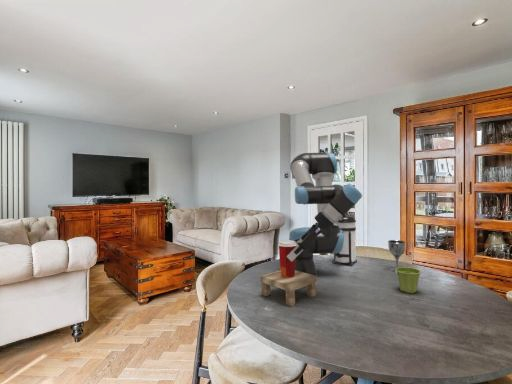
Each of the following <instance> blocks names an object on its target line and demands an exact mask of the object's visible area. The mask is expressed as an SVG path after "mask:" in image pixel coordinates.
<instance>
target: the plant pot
mask: <svg viewBox="0 0 512 384" xmlns="http://www.w3.org/2000/svg"><path fill="white" fill-rule="evenodd" d="M395 268H396V267H395ZM396 271H397V272H396V274H397V279H398V284H399V285H398V286H399V290H400V291H401V292H404V293H407V294H415V293H417V292H418V291H417V290H418V283H419V278H420V275H421V274H422V271H421V270H420V269H418V268H414V267H408V266H400V267H399V266H398V268H396Z"/></svg>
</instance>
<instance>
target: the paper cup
mask: <svg viewBox="0 0 512 384" xmlns="http://www.w3.org/2000/svg"><path fill="white" fill-rule="evenodd" d="M296 245H297V244H296V242H295V241H292V240H289V239H285V240H279V241H278V244H277V246H278V251H279V255H278V256H279V265H280V266H279V268H280V269H279V270H281V276H282V277H284V278H292V277H294V276H295V260H296V258H295V259H294V260H293V261H290V260H289V259H288V258H287V255H288V254H289V253H290V252H291V251H292V250H293V249H294V248H295V247H296Z"/></svg>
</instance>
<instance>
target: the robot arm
mask: <svg viewBox="0 0 512 384" xmlns="http://www.w3.org/2000/svg"><path fill="white" fill-rule="evenodd" d="M289 166H290V167H289V170H290V173H291V175H292V176H293V177H294V180H295V181H294V182H295V184H296V186H295V188H294V202H295V204H298V205H316V207H317V209H316V210H317V214H316V215H315V216H314V220H315V221H316V222H315V223H313V224H312V225H311V226H308V227H307V226H305V227H297V228H294V229H291V230H290V232H289V236H288V237H289V239H288V240H292V241H295V242H296V244H297V245H296V247H295V248H294V249H293V250H292V251H291V252H290V253H289V254H288V255H287V258H288V259H289V260H290V261H293V260H294V259H295V258H296V260H295V270H296V271H300V272H304V273H307V274H311V275H315V276H316V277H317V275H318V274H317V273H318V272H317V271H318V270H317V268H316V265H315V262H314V255H315V254H317V255H318V254H319V255H321V254H322V255H323V254H328V255H329V254H331V255H332V254H333V255H334V253H340V252H341V250H342V248H343V244H344V234H343V231H342V230H339V226H338V225H337V224H336V223H337V222H338V221H339V220H342V218H341V217H343V216H344V215H346V214H347V213H348V212H349V211H350V210H351V209H352V208H353V207H354V206H356V204H357V203H358V202H359V201H360V200H361V199H362V197H363V194H362V193H361V191H360V190H359V189H357V187H355V186H354V185H352V184H351V183H347V184H346V185H344V186H343V185H341V184H337V183H336V184H333V180H332V179H333V178H334V177H335V174H336V173H337V172H338V162H337V158H336V156H335V154H334V153H332V152H303V153H300V154H298V155H297V156H295V157H294V158H293V159H292V161H291V162H290V165H289ZM313 180H314V181H315V183H314V181H313Z"/></svg>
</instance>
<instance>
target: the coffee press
mask: <svg viewBox="0 0 512 384" xmlns="http://www.w3.org/2000/svg"><path fill="white" fill-rule="evenodd" d="M341 218H342V220H339V221H338V222H337V223H336V224H337V225H338V226H339V230H342V231H343V234H344V244H343V248H342V250H341V252H340V253H333V260H332V262H331V263H332V264H333V265H335V264H337V263H343V264H348V266H349V267H353V263H355V264H357V263H358V260H357V257H356V255H357V253H356V252H357V251H356V248H357V246H356V243H357V242H356V241H357V240H356V230H357V229H356V222H357V220H356V219H355V217H354V216H352V215H346V214H345V215H344V216H343V217H341ZM334 263H335V264H334Z"/></svg>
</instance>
